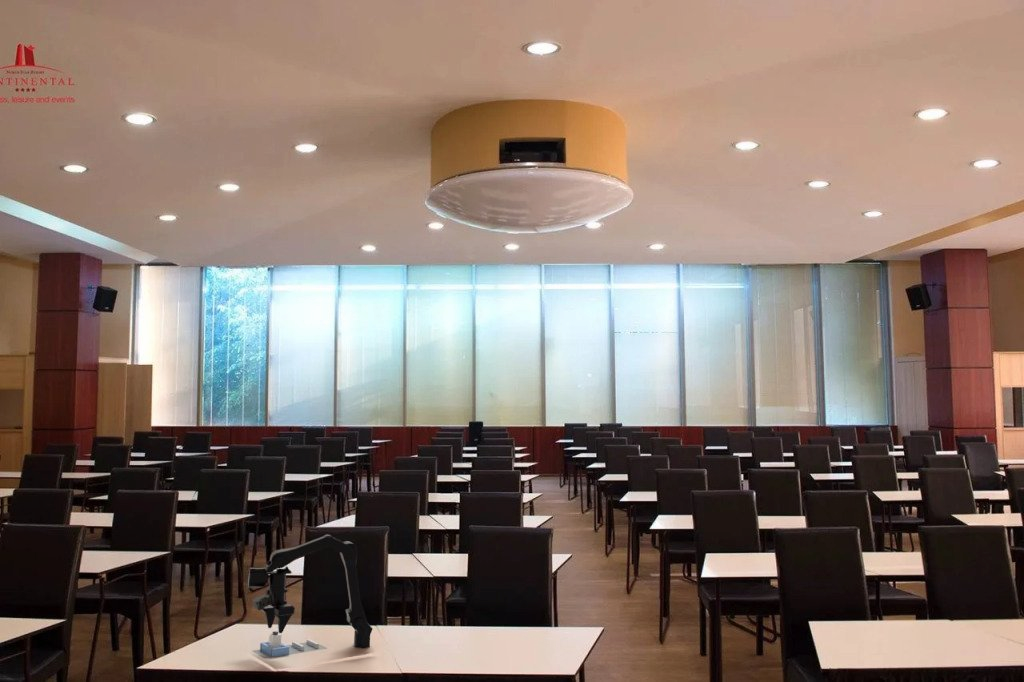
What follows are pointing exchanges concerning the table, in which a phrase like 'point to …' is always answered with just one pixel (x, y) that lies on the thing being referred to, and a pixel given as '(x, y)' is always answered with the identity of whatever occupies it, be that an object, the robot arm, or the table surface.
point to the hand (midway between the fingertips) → (275, 630)
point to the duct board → (287, 649)
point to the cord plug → (275, 640)
